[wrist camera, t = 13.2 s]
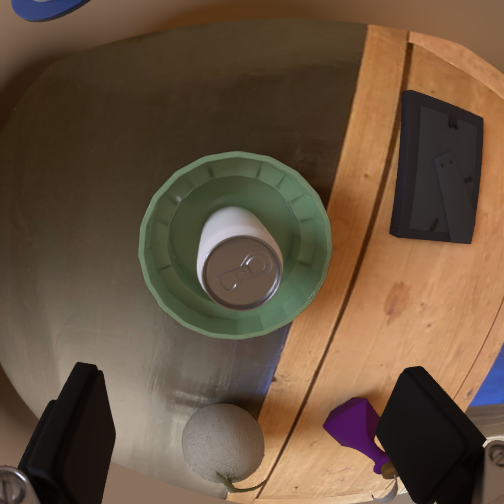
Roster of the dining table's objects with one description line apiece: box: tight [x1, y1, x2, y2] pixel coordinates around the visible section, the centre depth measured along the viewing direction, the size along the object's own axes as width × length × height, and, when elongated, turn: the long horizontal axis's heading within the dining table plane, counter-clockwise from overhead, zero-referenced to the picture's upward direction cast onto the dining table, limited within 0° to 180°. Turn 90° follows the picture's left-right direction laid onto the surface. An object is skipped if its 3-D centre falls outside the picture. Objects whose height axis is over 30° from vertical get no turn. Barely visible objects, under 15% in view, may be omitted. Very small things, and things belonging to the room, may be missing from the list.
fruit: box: [182, 403, 267, 493], centre depth 34 cm, size 10×12×15 cm
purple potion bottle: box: [323, 398, 399, 503], centre depth 35 cm, size 8×8×18 cm
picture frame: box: [389, 90, 483, 244], centre depth 34 cm, size 13×2×18 cm
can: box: [197, 206, 283, 312], centre depth 28 cm, size 6×6×12 cm
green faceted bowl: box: [139, 151, 333, 340], centre depth 31 cm, size 17×17×7 cm
